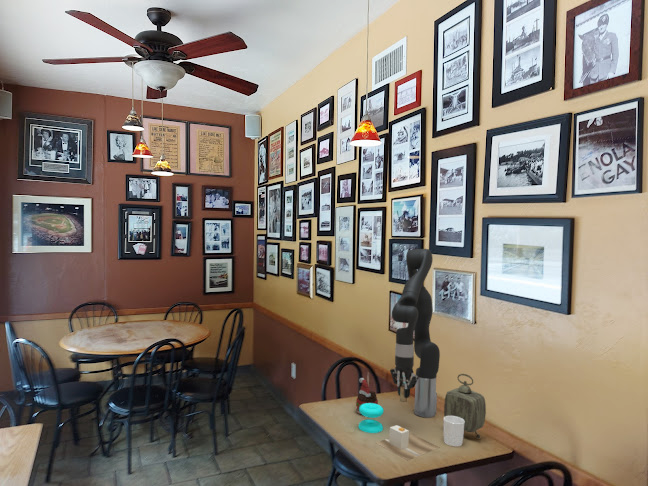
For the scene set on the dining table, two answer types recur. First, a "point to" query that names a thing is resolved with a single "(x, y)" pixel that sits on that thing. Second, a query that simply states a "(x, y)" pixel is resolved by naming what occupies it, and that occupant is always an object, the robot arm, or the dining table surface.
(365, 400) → the cake
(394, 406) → the dining table surface
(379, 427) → the donuts
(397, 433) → the white block
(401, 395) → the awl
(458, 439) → the white cup
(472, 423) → the tabletop clock
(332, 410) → the dining table surface
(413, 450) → the board
